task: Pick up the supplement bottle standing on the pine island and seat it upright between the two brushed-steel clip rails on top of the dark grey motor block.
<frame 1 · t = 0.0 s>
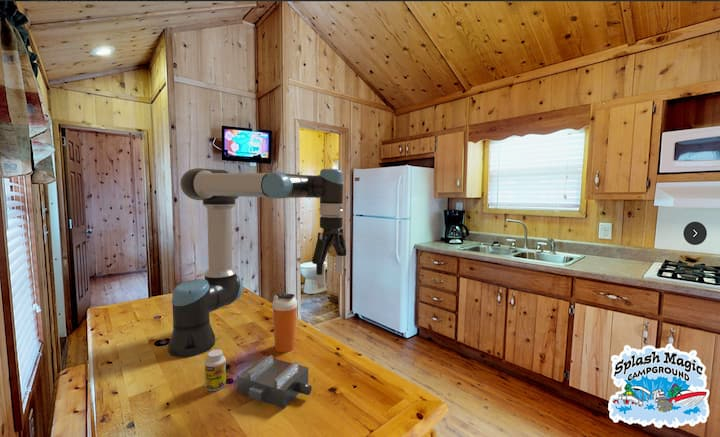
hand: (330, 278, 106), 28 cm above the table, fingers open, 13 cm apart
supplement bottle: (215, 386, 92), on the table
motor block: (273, 388, 92), on the table
shaker bottle: (284, 348, 115), on the table
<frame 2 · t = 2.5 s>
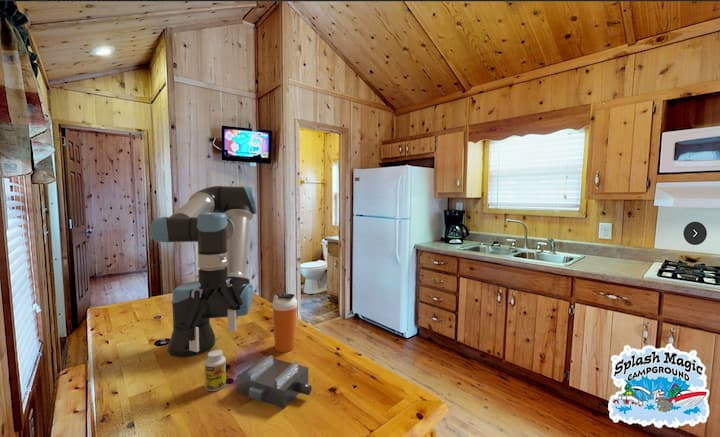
hand: (214, 340, 91), 14 cm above the table, fingers open, 13 cm apart
nothing on the table moved.
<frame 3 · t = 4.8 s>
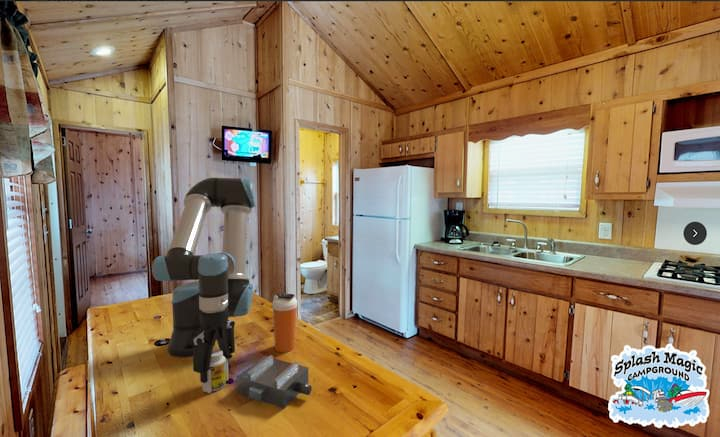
hand: (215, 384, 92), 0 cm above the table, fingers closed on supplement bottle, 6 cm apart
supplement bottle: (215, 386, 92), on the table, touching gripper
everything else where it was.
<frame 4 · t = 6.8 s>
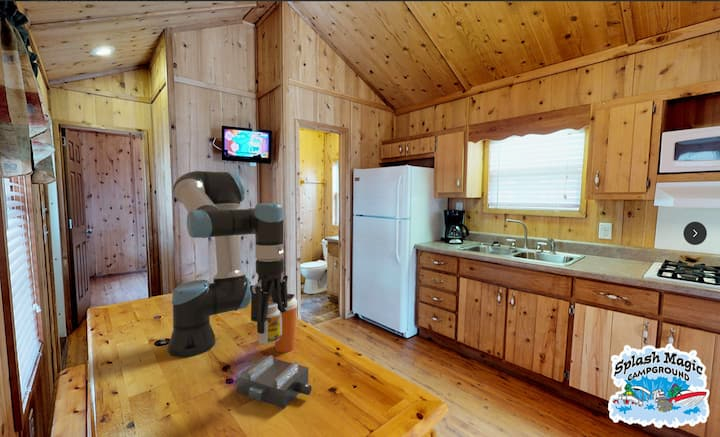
hand: (270, 338, 90), 15 cm above the table, fingers closed on supplement bottle, 6 cm apart
supplement bottle: (270, 340, 90), point 15 cm above the table, touching gripper
everything else where it was.
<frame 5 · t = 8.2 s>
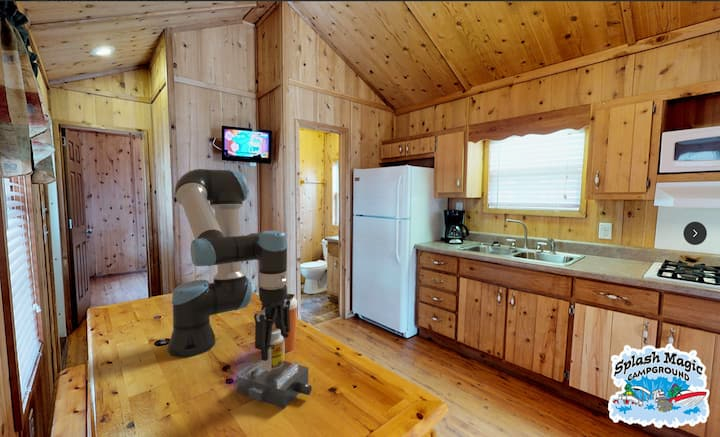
hand: (273, 363, 91), 7 cm above the table, fingers closed on supplement bottle, 6 cm apart
supplement bottle: (273, 365, 91), point 7 cm above the table, touching gripper
everything else where it was.
when the fingers open (6 cm above the table, at t = 9.1 s): supplement bottle stays where it is, resting on motor block.
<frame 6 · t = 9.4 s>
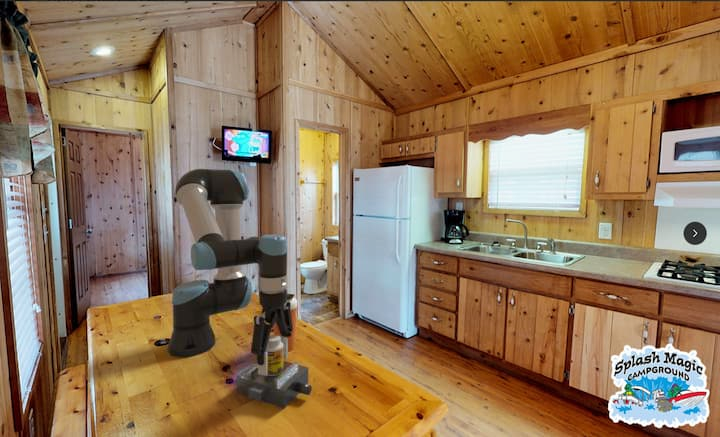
hand: (273, 365, 91), 7 cm above the table, fingers open, 9 cm apart
supplement bottle: (273, 372, 92), point 5 cm above the table, touching motor block
everything else where it was.
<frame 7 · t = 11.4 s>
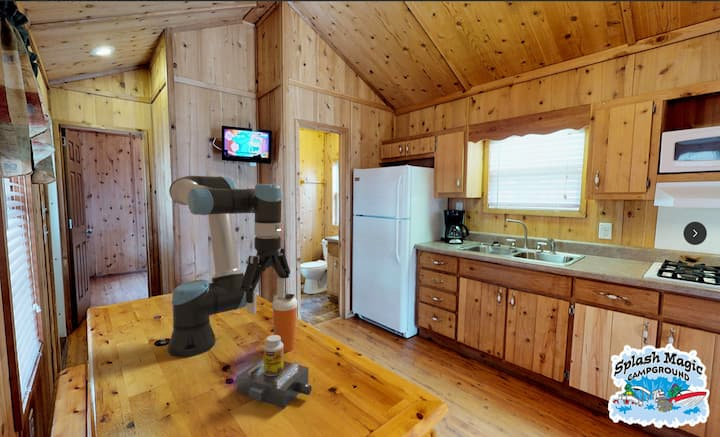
hand: (267, 304, 96), 23 cm above the table, fingers open, 13 cm apart
nothing on the table moved.
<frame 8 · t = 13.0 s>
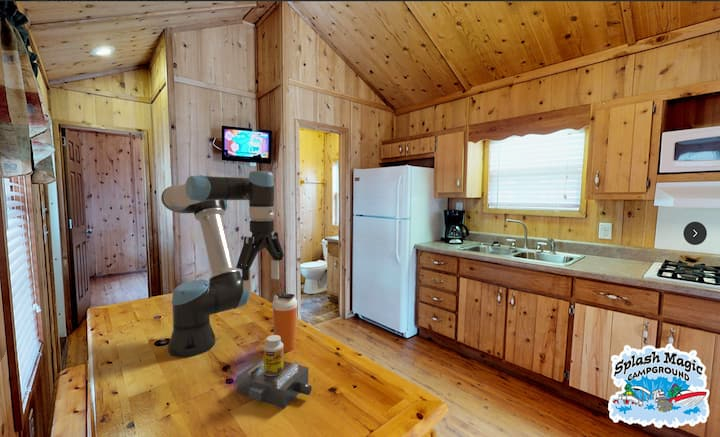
hand: (262, 284, 103), 27 cm above the table, fingers open, 13 cm apart
nothing on the table moved.
at the end: supplement bottle inside the target area on the motor block (0.0 cm from its centre), point 4.8 cm above the motor block's base; supplement bottle tilted 0°; the gripper is holding nothing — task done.
